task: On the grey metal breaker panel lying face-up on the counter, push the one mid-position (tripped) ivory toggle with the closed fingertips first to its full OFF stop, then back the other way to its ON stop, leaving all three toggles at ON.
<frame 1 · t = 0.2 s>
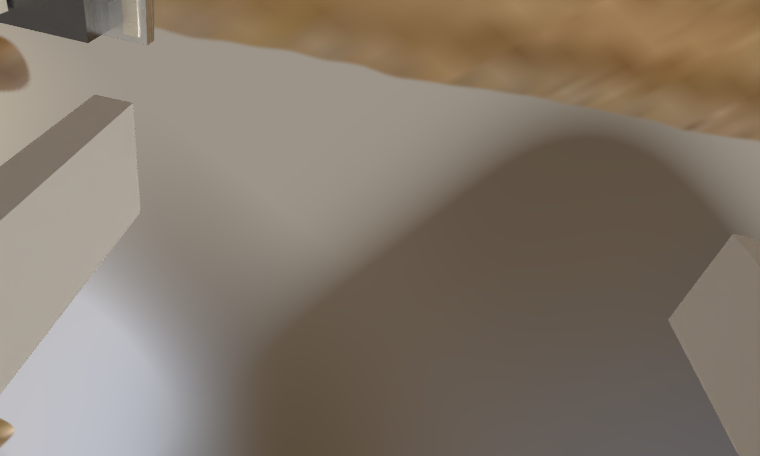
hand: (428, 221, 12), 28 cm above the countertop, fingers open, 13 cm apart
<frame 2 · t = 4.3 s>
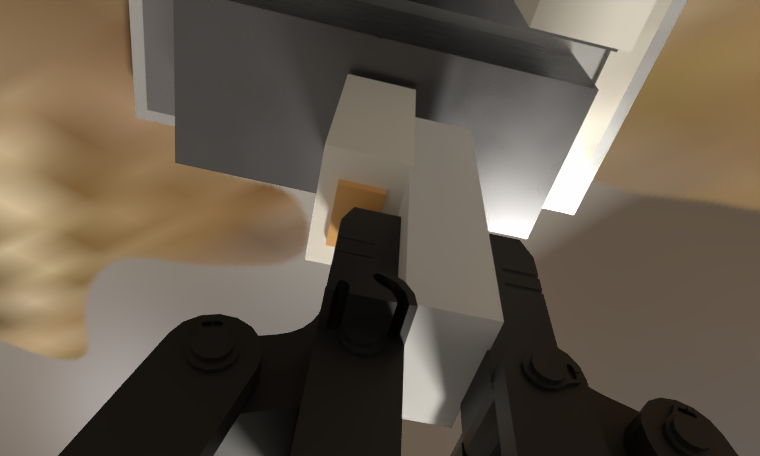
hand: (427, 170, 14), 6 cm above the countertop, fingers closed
tripped handle: (363, 171, 13), point 7 cm above the countertop, slide at 0.0 cm, touching gripper
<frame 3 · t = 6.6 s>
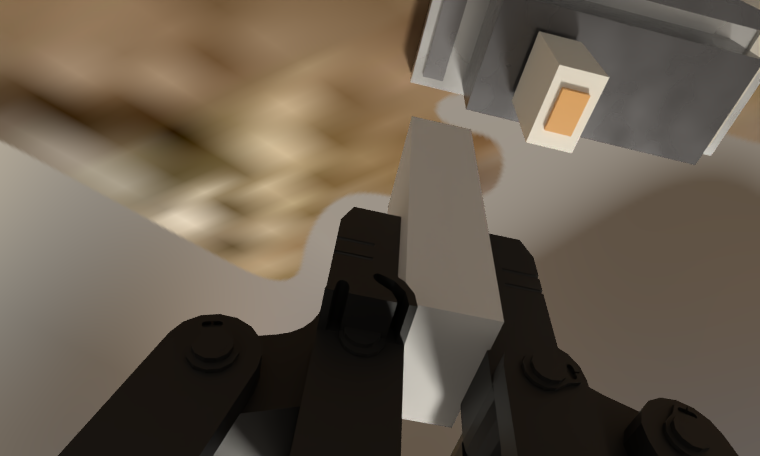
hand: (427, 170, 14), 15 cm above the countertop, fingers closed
tripped handle: (555, 91, 21), point 7 cm above the countertop, slide at -2.9 cm
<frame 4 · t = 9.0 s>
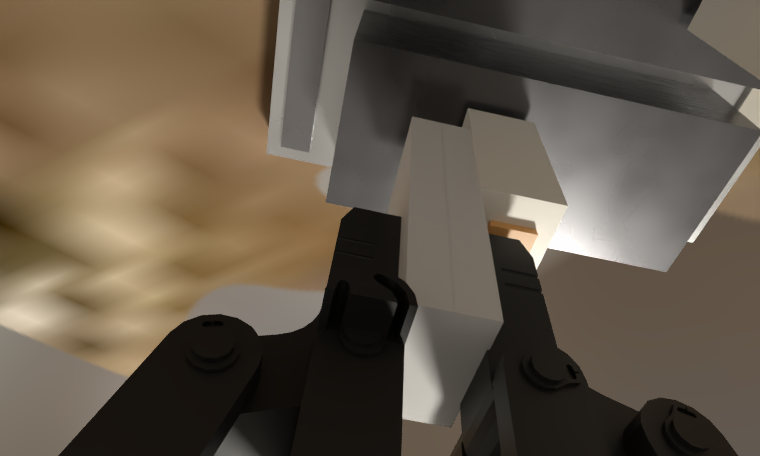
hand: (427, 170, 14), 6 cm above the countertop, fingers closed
tripped handle: (491, 205, 13), point 7 cm above the countertop, slide at -1.4 cm, touching gripper
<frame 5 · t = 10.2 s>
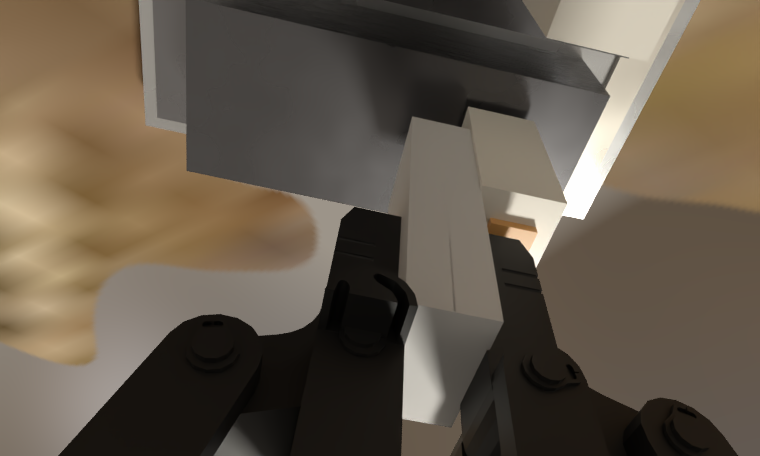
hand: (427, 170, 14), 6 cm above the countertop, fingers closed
tripped handle: (491, 204, 13), point 7 cm above the countertop, slide at 2.9 cm, touching gripper
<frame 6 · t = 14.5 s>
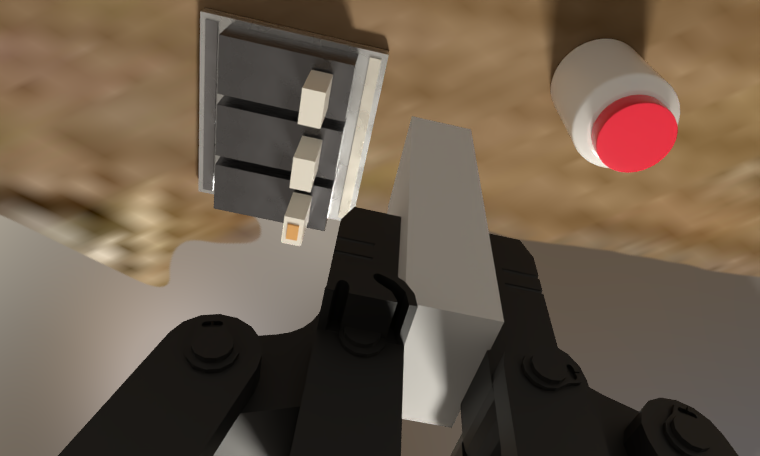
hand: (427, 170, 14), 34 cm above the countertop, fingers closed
handle mid: (306, 163, 46), point 7 cm above the countertop, slide at 3.0 cm
pill bottle: (595, 82, 47), on the countertop
panel: (287, 123, 51), on the countertop
tripped handle: (296, 219, 49), point 7 cm above the countertop, slide at 2.9 cm
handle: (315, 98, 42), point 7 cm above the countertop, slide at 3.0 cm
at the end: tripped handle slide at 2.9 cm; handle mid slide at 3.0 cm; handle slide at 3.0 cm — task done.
